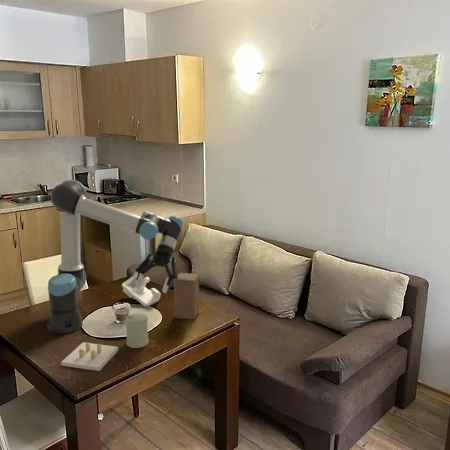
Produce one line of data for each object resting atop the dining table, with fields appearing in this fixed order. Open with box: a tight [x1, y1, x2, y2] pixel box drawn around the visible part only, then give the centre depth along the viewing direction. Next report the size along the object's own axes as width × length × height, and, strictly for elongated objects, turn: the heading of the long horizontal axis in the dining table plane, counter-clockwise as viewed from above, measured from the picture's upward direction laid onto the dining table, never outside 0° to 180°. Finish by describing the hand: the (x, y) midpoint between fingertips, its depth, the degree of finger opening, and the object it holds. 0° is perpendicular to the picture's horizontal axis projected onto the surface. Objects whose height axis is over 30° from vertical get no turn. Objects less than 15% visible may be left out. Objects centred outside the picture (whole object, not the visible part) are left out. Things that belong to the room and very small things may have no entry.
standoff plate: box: [60, 341, 119, 372], centre depth 183 cm, size 16×16×4 cm
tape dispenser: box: [121, 271, 162, 308], centre depth 238 cm, size 20×11×13 cm, turn 59°
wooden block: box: [173, 272, 200, 320], centre depth 220 cm, size 10×10×20 cm
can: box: [125, 312, 150, 349], centre depth 194 cm, size 9×9×12 cm
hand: (150, 290), depth 200 cm, fingers open, 13 cm apart
